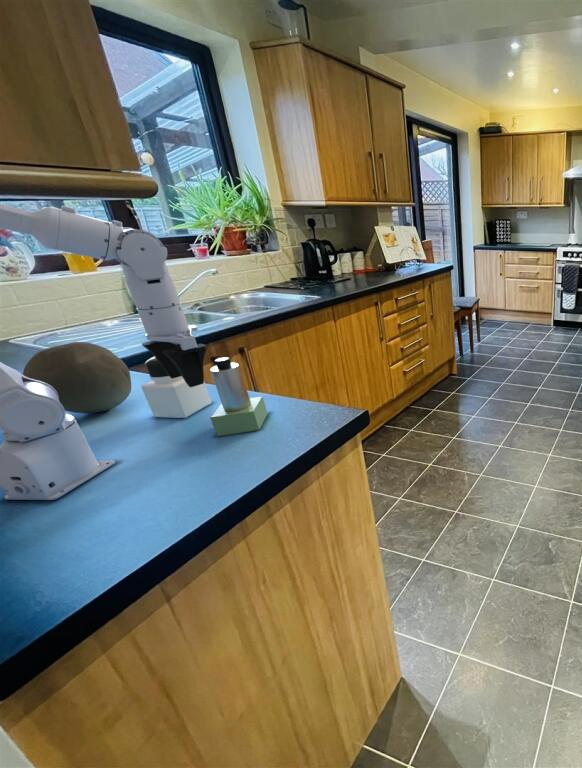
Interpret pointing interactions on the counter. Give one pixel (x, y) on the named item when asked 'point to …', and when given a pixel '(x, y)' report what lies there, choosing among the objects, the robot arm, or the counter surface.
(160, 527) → the counter surface
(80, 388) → the cantaloupe
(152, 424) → the counter surface
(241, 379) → the flask
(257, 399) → the block
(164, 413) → the medicine bottle
